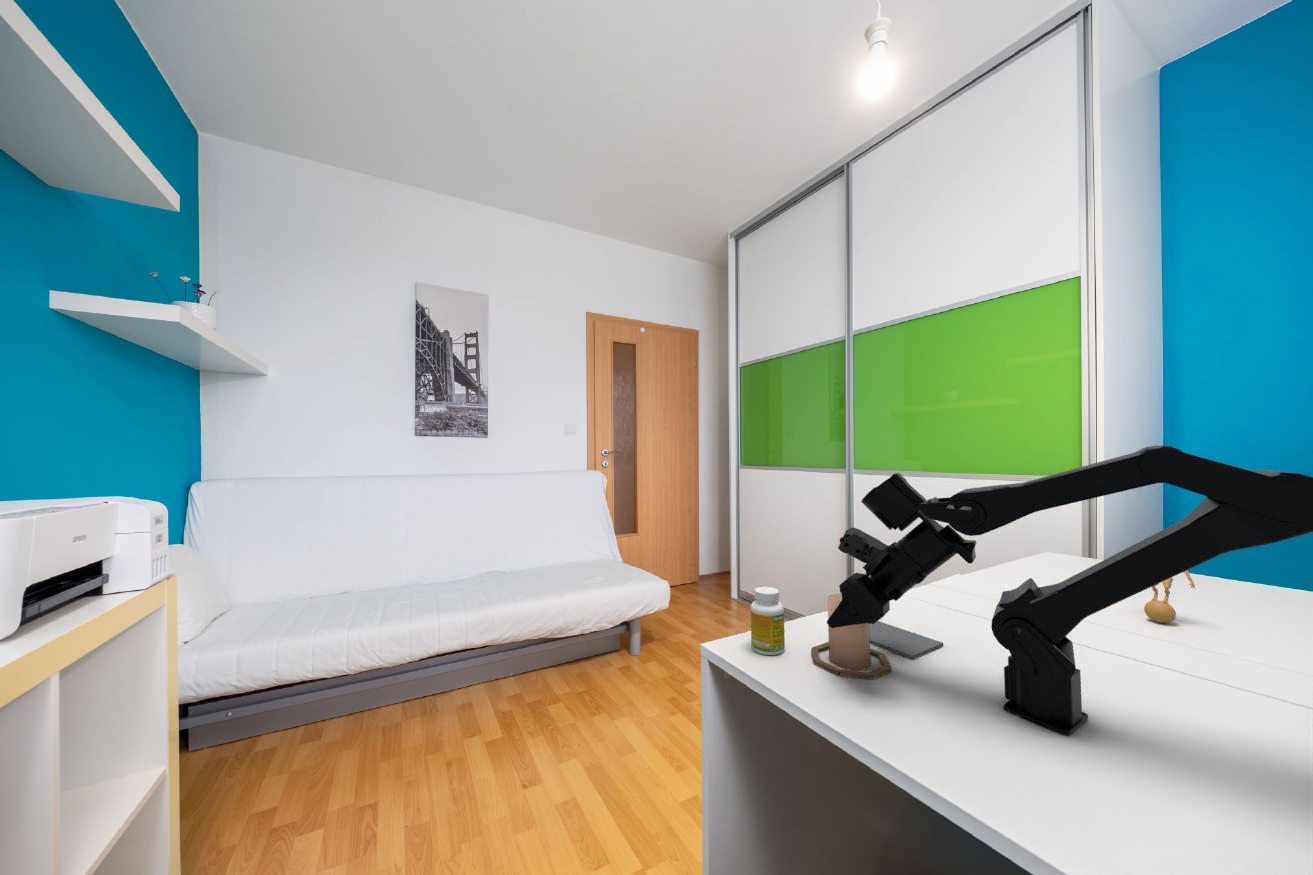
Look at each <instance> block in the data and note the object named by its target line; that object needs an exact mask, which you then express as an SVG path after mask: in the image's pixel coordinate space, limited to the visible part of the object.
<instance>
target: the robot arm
mask: <svg viewBox="0 0 1313 875" xmlns="http://www.w3.org/2000/svg"><path fill="white" fill-rule="evenodd" d="M1155 484H1167V485H1170V486H1173V487H1177V488H1180V489H1183V490H1186V491H1189V492H1192V493H1195V494H1198V495H1201V496H1204V497H1205V498H1204V499H1203V500H1202V501H1201V502H1199V504H1197V505H1196V506H1195V507H1194V508H1193V510H1191V511H1190V513H1188V514H1187V515H1186V516H1185V517H1184V518H1183V519H1181V520H1180V521H1177V522H1175V523H1174V524H1172V525H1170V526H1168V527H1166V528H1164V529H1162V530H1159V531H1158V532H1157V533H1154V534H1152V535H1150V536H1149V537H1146V538H1145V539H1143V540H1141V541H1139V542H1136V543H1135V544H1133V545H1130V546H1128V547H1127V548H1125V549H1123V550H1121V551H1119V552H1117V553H1115V554H1113V555H1112V556H1111V555H1110V556H1109V557H1107V558H1106V559H1103V560H1102V561H1099V562H1098V563H1095V564H1094V565H1092V566H1090V567H1088V568H1086V569H1084V570H1082V571H1080V572H1078V573H1076V574H1073V575H1072V576H1069V577H1068V578H1067V579H1064V580H1063V581H1061V582H1058V583H1055V584H1050V585H1045V586H1040V587H1039V585H1037V583H1036V582H1035V580H1034V579H1033V578H1031V577H1029V578H1028V579H1026V580H1025V581H1023V583H1022V584H1020V585H1019V586H1018V587H1016V588H1013V589H1011V590H1005V591H1002V593H1001V596H1000V599H999V601H998V602H997V604H996V607H995V610H994V613H993V615H992V619H991V625H990V626H991V627H990V628H991V630H992V634H993V636H994V638H995V639H996V641H997V642H998V643H999V644H1000V645H1001V646H1002V647H1004V648H1005V649H1006V650H1008V651H1009V654H1010V655H1008V657H1007V662H1008V663H1007V665H1006V666H1004V667H1003V679H1004V680H1003V681H1004V685H1003V686H1004V698H1005V699H1006V700H1007V702H1005V703H1003V705H1002V707H1003V709H1004V711H1006V712H1009V713H1012V714H1015V715H1017V716H1019V717H1022V718H1024V719H1027V720H1029V721H1032V722H1034V723H1036V724H1038V725H1041V726H1044V727H1046V728H1048V729H1050V730H1053V731H1056V732H1058V733H1060V734H1064V735H1067V736H1068V735H1071V734H1072V733H1073V732H1075V731H1076V730H1077V729H1078V728H1079V727H1081V726H1082V725H1083V724H1084V723H1085V722H1087V721H1088V720H1089V714H1087V713H1086V712H1083V706H1082V705H1083V704H1082V682H1081V680H1082V676H1081V669H1079V668H1076V667H1077V666H1076V659H1075V653H1074V652H1075V650H1074V643H1073V641H1072V640H1071V639H1069V638H1068V637H1067V636H1068V635H1069V634H1070V633H1071V632H1072V631H1073V630H1074V629H1075V628H1076V627H1077V626H1078V625H1079V624H1080V623H1081V622H1082V621H1083V620H1084V619H1086V618H1088V617H1089V616H1092V615H1093V614H1096V613H1098V612H1100V611H1102V610H1104V609H1107V608H1109V607H1111V606H1112V605H1116V604H1118V603H1119V602H1122V601H1124V600H1126V599H1128V598H1131V597H1132V596H1135V595H1137V594H1139V593H1141V592H1143V591H1145V590H1147V589H1150V588H1152V586H1154V585H1156V584H1158V583H1159V584H1160V583H1163V581H1165V580H1167V579H1169V578H1171V577H1172V578H1174V577H1175V576H1178V575H1179V574H1182V573H1185V572H1184V571H1186V570H1187V571H1188V570H1190V569H1193V568H1195V567H1198V566H1199V565H1201V564H1203V563H1206V562H1208V561H1210V560H1212V559H1214V558H1217V557H1218V556H1221V555H1223V554H1227V553H1229V552H1233V551H1239V550H1245V549H1249V548H1254V547H1260V546H1261V547H1262V546H1267V545H1271V544H1275V543H1276V544H1277V543H1279V542H1282V541H1285V540H1289V539H1293V538H1297V537H1300V536H1303V535H1307V534H1310V533H1313V476H1308V475H1305V474H1301V473H1296V472H1290V471H1289V472H1288V471H1279V470H1268V469H1267V470H1266V469H1253V470H1248V469H1245V468H1241V467H1237V466H1234V465H1230V464H1226V463H1223V462H1219V461H1217V460H1211V459H1209V458H1204V457H1201V456H1199V455H1198V456H1197V455H1194V454H1191V453H1187V452H1183V451H1182V450H1181V449H1179V448H1176V447H1173V446H1169V445H1151V446H1146V447H1143V448H1141V449H1139V450H1137V451H1135V452H1131V453H1128V454H1124V455H1121V456H1120V455H1119V456H1117V457H1114V458H1113V457H1112V458H1109V459H1106V460H1101V461H1098V462H1095V463H1091V464H1087V465H1082V466H1080V467H1076V468H1071V469H1069V470H1064V471H1061V472H1058V473H1054V474H1051V475H1047V476H1043V477H1039V478H1035V479H1031V480H1028V481H1024V482H1016V483H1008V484H997V485H989V486H980V487H971V488H966V489H963V490H961V491H958V492H957V493H955V494H952V496H950V497H939V498H938V497H936V496H935V497H932V498H929V499H926V497H924V496H923V495H922V494H921V493H920V492H918V490H917V489H915V488H914V487H913V486H912V485H911V484H910V483H909V482H908V481H907V479H906V478H905V477H904V476H903V475H902V474H901V473H899V472H897V473H893V474H892V475H891V476H890V477H889V478H886V480H884V481H883V482H881V484H879V485H877V486H875V487H873V488H872V489H871V490H870V491H869V492H867V493H866V495H865V496H863V498H862V499H861V503H862V504H863V505H864V506H865V507H866V509H868V511H870V512H871V513H872V514H873V515H874V516H875V517H876V519H877V520H879V521H880V522H881V523H882V524H883V525H884V526H885V527H886V528H887V529H888V530H890V531H891V530H892V529H893V530H895V531H896V530H897V529H898V530H899V531H900V532H903V531H904V530H906V529H907V528H908V527H910V526H911V525H912V524H914V522H916V521H917V520H919V519H920V520H921V522H919V524H917V525H916V526H914V527H913V529H911V530H910V531H909V532H908V533H907V534H905V535H904V536H903V537H901V539H899V540H898V541H894V542H892V543H891V544H889V545H887V544H886V543H884V542H882V541H881V540H879V539H878V538H876V537H874V536H872V535H871V534H868V533H867V532H865V531H862V530H861V529H859V528H857V527H851V528H848V529H847V530H845V532H844V534H843V536H842V537H840V538H839V544H838V547H837V549H838V550H839V551H840V552H842V553H843V554H847V555H849V556H850V557H853V558H854V559H855V560H858V561H860V562H862V563H864V564H865V565H863V566H862V569H864V570H865V573H862V572H861V573H860V572H855V573H853V574H851V575H850V576H849V577H847V578H846V579H845V580H844V581H842V582H841V583H840V584H839V585H838V587H839V592H840V594H842V601H841V602H840V604H839V605H838V606H837V608H836V609H835V611H834V612H833V613H832V615H831V616H830V618H829V619H828V618H827V620H826V624H827V626H828V625H829V626H830V627H831V628H836V627H843V626H849V625H856V624H865V623H868V624H871V623H872V624H874V623H876V622H877V621H880V620H881V619H883V618H884V617H885V616H886V614H887V613H888V612H889V611H890V609H891V608H890V606H891V605H890V603H891V602H890V601H895V602H897V601H898V600H900V599H901V598H902V597H903V596H904V594H906V593H907V592H908V591H909V590H911V589H912V588H914V587H915V586H916V585H919V584H921V583H922V582H923V581H924V580H925V579H926V578H927V577H928V576H929V575H931V574H932V573H933V572H934V571H936V570H937V569H939V568H940V567H942V565H944V564H945V563H946V562H948V561H949V560H950V559H952V558H953V557H955V556H956V555H959V556H960V558H962V559H963V560H964V561H965V562H966V563H967V564H973V562H974V561H975V559H976V558H977V556H976V545H977V541H976V540H975V539H974V540H973V539H972V540H971V539H965V538H964V537H963V536H961V534H963V535H965V536H969V537H970V536H972V537H973V536H982V535H984V534H986V533H990V532H991V531H994V530H996V529H998V528H1001V527H1004V526H1007V525H1009V524H1011V523H1013V522H1016V521H1017V520H1020V519H1021V518H1024V517H1027V516H1028V515H1031V514H1033V513H1036V512H1040V511H1043V510H1045V511H1046V510H1049V509H1053V508H1059V507H1061V506H1065V505H1070V504H1075V503H1078V502H1082V501H1087V500H1091V499H1096V498H1100V497H1105V496H1107V495H1113V494H1116V493H1122V492H1126V491H1129V490H1134V489H1137V488H1142V487H1146V486H1153V485H1155ZM939 522H941V523H945V524H947V525H945V526H942V525H941V524H940V523H939ZM959 533H961V534H959ZM1159 584H1158V585H1159ZM1156 586H1157V585H1156Z"/></svg>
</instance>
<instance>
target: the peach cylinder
mask: <svg viewBox="0 0 1313 875" xmlns="http://www.w3.org/2000/svg"><path fill="white" fill-rule="evenodd" d="M841 601H842V594H841V593H833V594H830V595H828V596H827V620H828V619H829V618H830V616H831V615H832V613H833V612H834V611H835V609H836V608H837V606H838V605H839V604H840V602H841ZM827 628H828V630H827V631H828V642H829V649H828V660H829V661H830V663H831V664H833V666H835V667H837V668H839V669H843V670H853V671H864V670H868V669H869V668H871V666H872V662H871V660H872V658H871V657H872V656H871V653H870V649H871V644H870V624H868V623H865V624H856V625H849V626H843V627H836V628H831V627H830V626H829V625H828V624H827Z"/></svg>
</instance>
